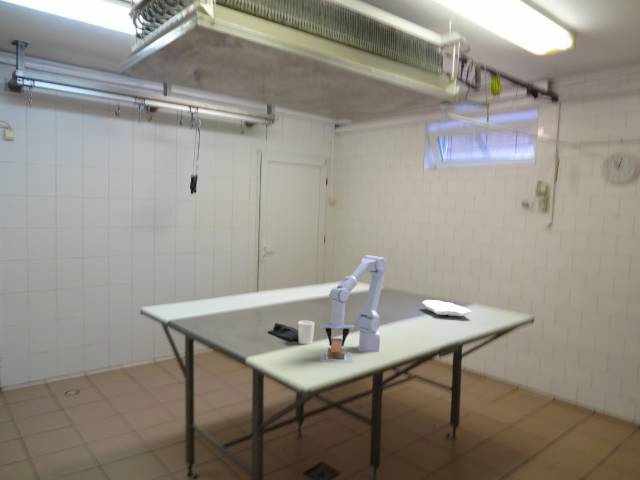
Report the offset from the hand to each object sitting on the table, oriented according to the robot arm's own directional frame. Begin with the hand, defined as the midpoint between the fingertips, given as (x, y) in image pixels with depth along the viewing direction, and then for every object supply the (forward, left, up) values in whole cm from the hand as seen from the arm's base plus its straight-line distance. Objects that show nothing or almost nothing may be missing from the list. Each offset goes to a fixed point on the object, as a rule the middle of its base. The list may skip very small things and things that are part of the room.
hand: (336, 345), depth 204 cm
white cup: (+14, -19, -6) cm, 24 cm away
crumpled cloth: (-73, -89, -6) cm, 115 cm away
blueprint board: (0, 0, -5) cm, 5 cm away
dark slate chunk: (+22, -31, -6) cm, 39 cm away
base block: (0, 0, -5) cm, 5 cm away
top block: (0, 0, -2) cm, 3 cm away
